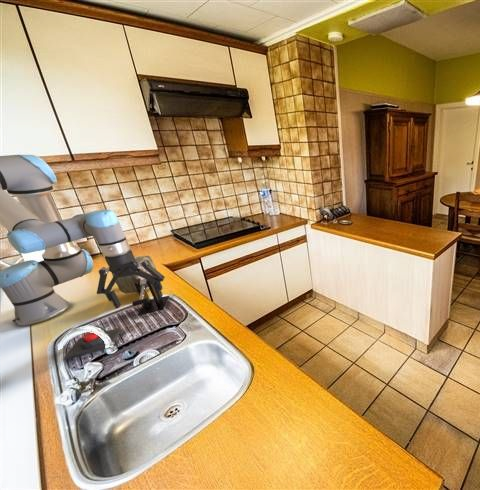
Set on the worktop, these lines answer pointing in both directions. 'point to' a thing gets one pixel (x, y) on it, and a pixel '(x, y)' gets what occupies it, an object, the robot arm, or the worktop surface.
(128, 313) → the worktop surface
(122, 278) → the tabletop clock
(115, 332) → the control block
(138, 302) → the lever
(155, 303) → the bracket
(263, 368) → the worktop surface
